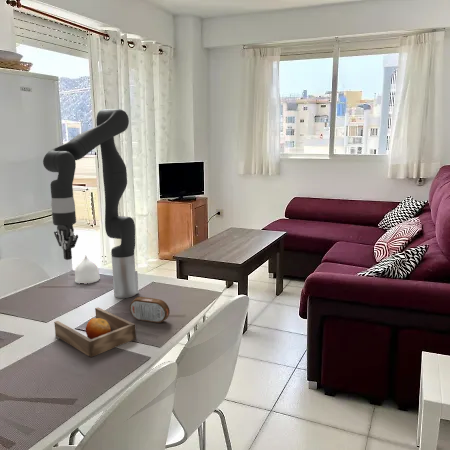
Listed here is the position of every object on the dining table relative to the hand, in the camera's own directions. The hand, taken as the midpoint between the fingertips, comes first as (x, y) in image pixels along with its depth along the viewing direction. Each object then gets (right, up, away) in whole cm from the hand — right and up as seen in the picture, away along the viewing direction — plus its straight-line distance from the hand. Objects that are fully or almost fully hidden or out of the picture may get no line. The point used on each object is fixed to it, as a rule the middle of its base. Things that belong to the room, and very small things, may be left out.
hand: (67, 259), depth 151 cm
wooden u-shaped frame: (+12, -25, -9) cm, 29 cm away
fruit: (+14, -26, -10) cm, 31 cm away
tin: (+28, -23, +4) cm, 36 cm away
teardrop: (-9, -14, +50) cm, 53 cm away
